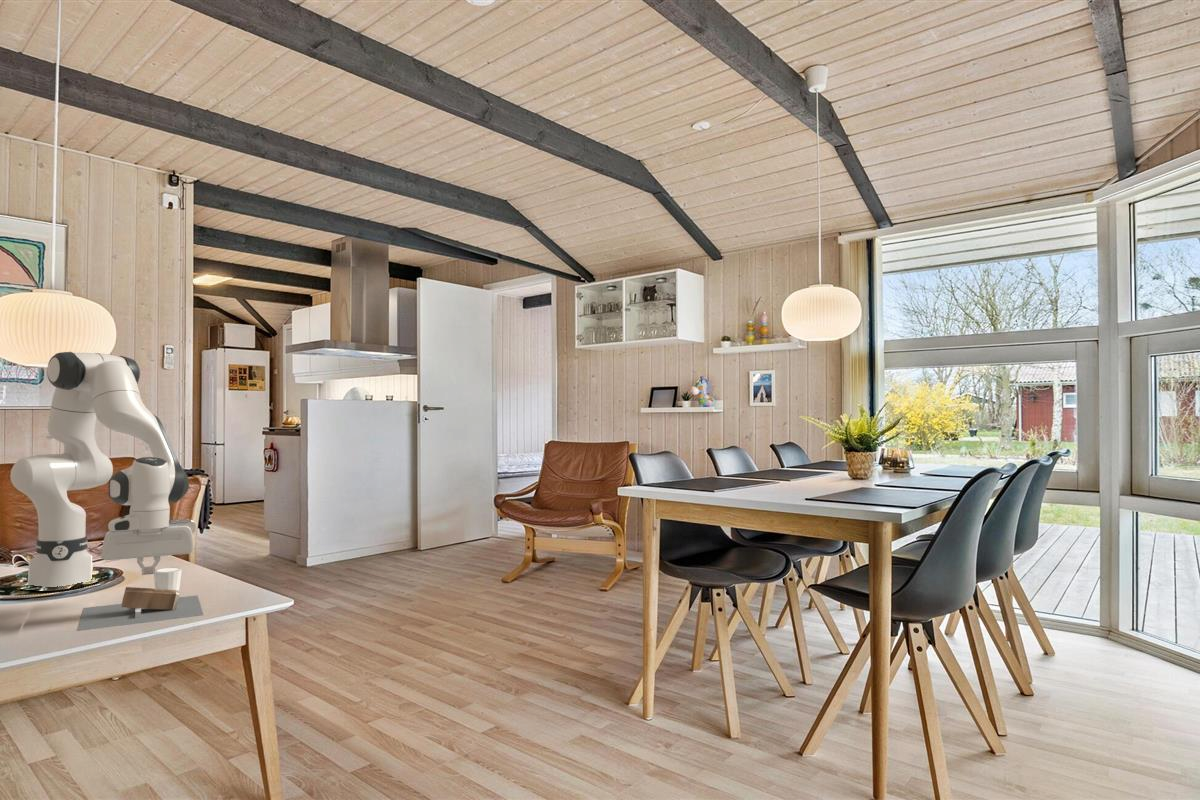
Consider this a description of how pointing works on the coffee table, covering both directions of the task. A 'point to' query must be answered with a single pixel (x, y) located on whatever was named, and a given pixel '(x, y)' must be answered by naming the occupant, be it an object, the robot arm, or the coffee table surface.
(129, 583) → the coffee table surface
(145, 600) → the walnut block
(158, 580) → the white cup
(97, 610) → the slate mat
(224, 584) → the coffee table surface
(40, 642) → the coffee table surface
